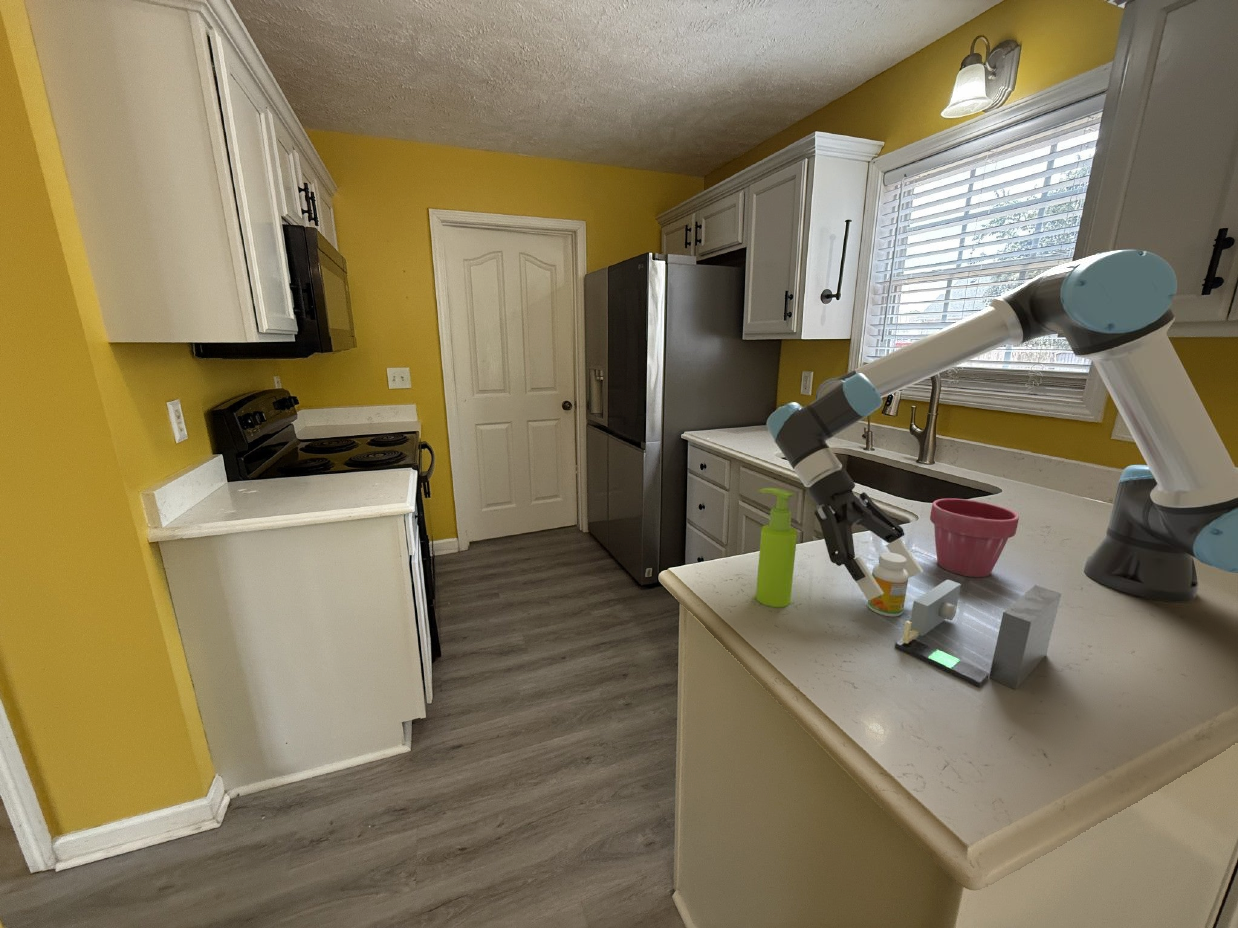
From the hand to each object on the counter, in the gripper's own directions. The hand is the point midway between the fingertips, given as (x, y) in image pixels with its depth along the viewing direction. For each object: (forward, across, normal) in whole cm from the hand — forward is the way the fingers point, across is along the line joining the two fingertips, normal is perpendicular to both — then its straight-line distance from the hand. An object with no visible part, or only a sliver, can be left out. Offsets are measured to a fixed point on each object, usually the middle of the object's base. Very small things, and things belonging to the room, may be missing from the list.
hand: (897, 585), depth 84 cm
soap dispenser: (-7, +13, -15) cm, 21 cm away
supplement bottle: (+3, 0, -5) cm, 5 cm away
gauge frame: (+12, +2, +5) cm, 13 cm away
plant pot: (+4, -30, -4) cm, 30 cm away
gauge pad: (+8, +2, +2) cm, 8 cm away
